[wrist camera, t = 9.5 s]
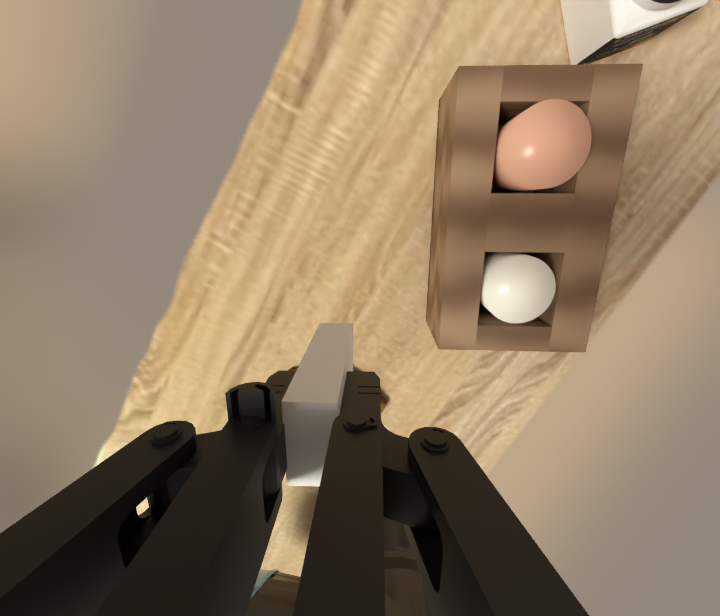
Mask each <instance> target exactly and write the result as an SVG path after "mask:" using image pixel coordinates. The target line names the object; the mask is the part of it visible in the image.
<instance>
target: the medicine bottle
mask: <svg viewBox="0 0 720 616" xmlns="http://www.w3.org/2000/svg"><path fill="white" fill-rule="evenodd" d="M708 1H709V0H560V3H561V10H562V16H563V22H564V29H565V35H566V41H567V47H568V54H569V60H570V65H586V64H589V63H591V62H594V61H597V60H599V59H602V58H605V57H607V56H610V55H613V54H615V53H618V52H620V51H623V50H626V49H628V48H631V47H634V46H636V45H639V44H642V43H644V42H646V41H647V40H649V39H650V38H652V37H654V36H655V35H657V34H659V33H660V32H662V31H663V30H665V29H667V28H668V27H670V26H672V25H673V24H675V23H676V22H678V21H680V20H681V19H683V18H685V17H686V16H688V15H689V14H691V13H693V12H694V11H696V10H698V9H699V8H701V7H702V6H704V5H705V4H706V3H707V2H708Z"/></svg>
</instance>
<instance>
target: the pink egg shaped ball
mask: <svg viewBox="0 0 720 616" xmlns="http://www.w3.org/2000/svg"><path fill="white" fill-rule="evenodd" d="M591 140H592V136H591V127H590V124H589V121H588V119H587V117H586V115H585V114H584V112H583V111H582V110H581V109H580V108H579V107H578V106H577V105H575V104H573V103H572V102H569V101H567V100H562V99H549V100H544V101H541V102H538V103H536V104H534V105H533V106H531V107H530V108H528V109H526V110H525V111H523V112H522V113H520V114H519V115H517V116H516V117H514V118H513V119H511V120H510V121H508V122H507V123H505V124H503V125H502V126H500V127H499V128H498V130H497V140H496V150H495V159H494V169H493V179H492V189H494V190H496V191H499V192H504V193H509V192H519V191H528V190H537V189H546V188H552V187H555V186H558V185H561V184H563V183H565V182H566V181H568V180H569V179H571V178H572V177H573V176H574V175H575V174H576V173H577V172H578V171H579V170H580V168H581V167H582V166H583V164H584V163H585V161H586V159H587V157H588V154H589V151H590V147H591Z"/></svg>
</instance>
